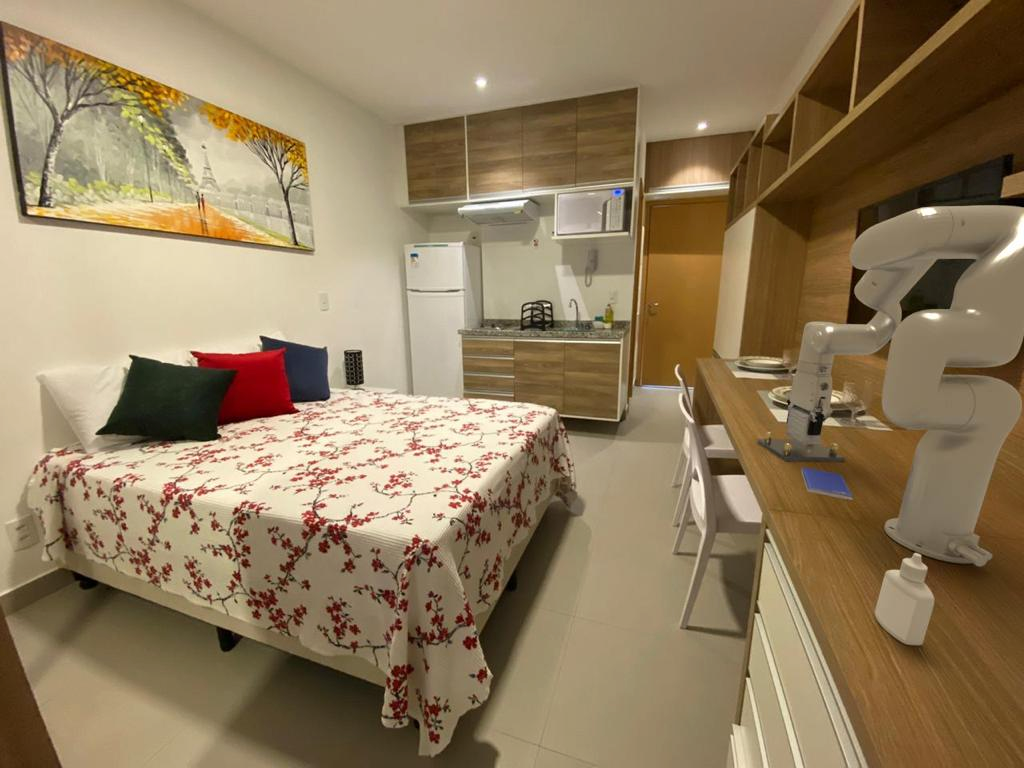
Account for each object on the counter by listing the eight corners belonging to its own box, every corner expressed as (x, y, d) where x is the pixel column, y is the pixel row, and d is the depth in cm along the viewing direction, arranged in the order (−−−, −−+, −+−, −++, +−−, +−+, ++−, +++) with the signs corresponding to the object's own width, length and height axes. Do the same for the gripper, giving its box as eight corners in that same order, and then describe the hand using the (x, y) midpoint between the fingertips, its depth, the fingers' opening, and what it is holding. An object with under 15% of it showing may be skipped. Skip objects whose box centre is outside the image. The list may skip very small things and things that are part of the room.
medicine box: (819, 445, 113) (825, 414, 111) (803, 444, 113) (808, 414, 111) (800, 435, 121) (805, 406, 119) (784, 434, 121) (789, 406, 119)
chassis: (844, 461, 111) (847, 447, 110) (785, 461, 111) (787, 446, 110) (810, 443, 124) (813, 429, 123) (757, 442, 124) (759, 429, 123)
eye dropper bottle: (880, 637, 56) (901, 560, 53) (872, 610, 61) (890, 538, 58) (924, 652, 54) (948, 573, 51) (912, 622, 59) (933, 548, 56)
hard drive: (853, 496, 91) (841, 474, 102) (808, 487, 95) (801, 467, 106) (851, 502, 92) (840, 479, 102) (807, 493, 95) (800, 472, 106)
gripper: (853, 375, 103) (839, 441, 108) (805, 361, 120) (795, 419, 125) (823, 375, 103) (810, 441, 108) (779, 361, 120) (770, 419, 125)
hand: (802, 429), depth 116 cm, fingers closed on medicine box, 8 cm apart
